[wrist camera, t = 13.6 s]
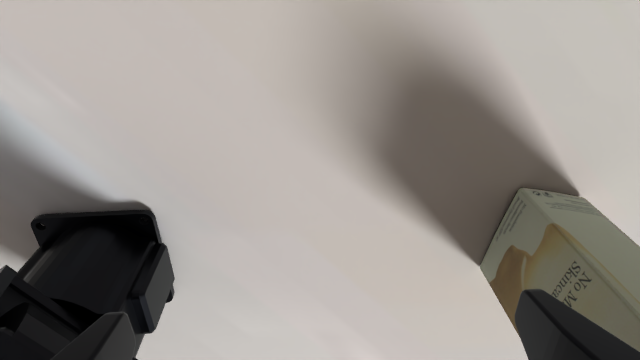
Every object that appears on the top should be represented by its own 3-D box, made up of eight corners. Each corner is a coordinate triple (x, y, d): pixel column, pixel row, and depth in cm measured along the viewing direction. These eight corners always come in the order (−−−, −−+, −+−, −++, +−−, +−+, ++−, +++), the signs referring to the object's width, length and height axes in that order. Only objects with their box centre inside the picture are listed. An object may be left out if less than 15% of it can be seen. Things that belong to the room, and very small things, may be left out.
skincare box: (516, 184, 23) (705, 376, 13) (585, 195, 24) (820, 387, 13) (475, 271, 26) (599, 487, 16) (536, 279, 27) (697, 492, 16)
